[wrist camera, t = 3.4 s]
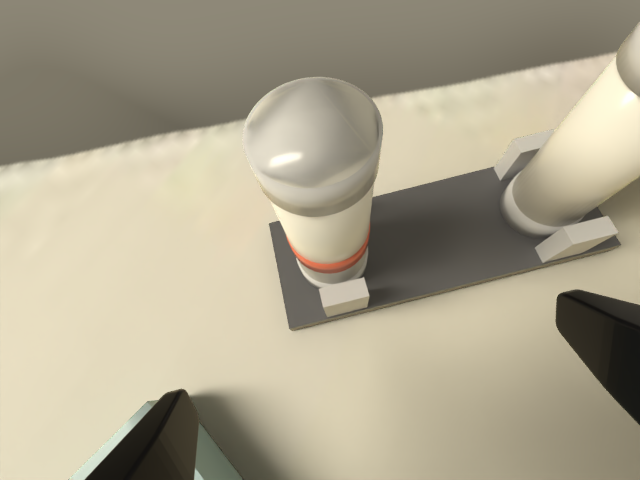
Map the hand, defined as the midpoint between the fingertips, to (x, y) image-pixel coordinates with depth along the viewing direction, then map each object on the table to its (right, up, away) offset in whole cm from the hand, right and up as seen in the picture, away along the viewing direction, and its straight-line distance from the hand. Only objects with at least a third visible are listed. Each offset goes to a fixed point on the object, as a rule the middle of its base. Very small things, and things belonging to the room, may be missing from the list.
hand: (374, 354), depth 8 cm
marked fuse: (-1, +2, +13) cm, 13 cm away
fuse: (+12, +5, +13) cm, 19 cm away
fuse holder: (+6, +3, +14) cm, 16 cm away
